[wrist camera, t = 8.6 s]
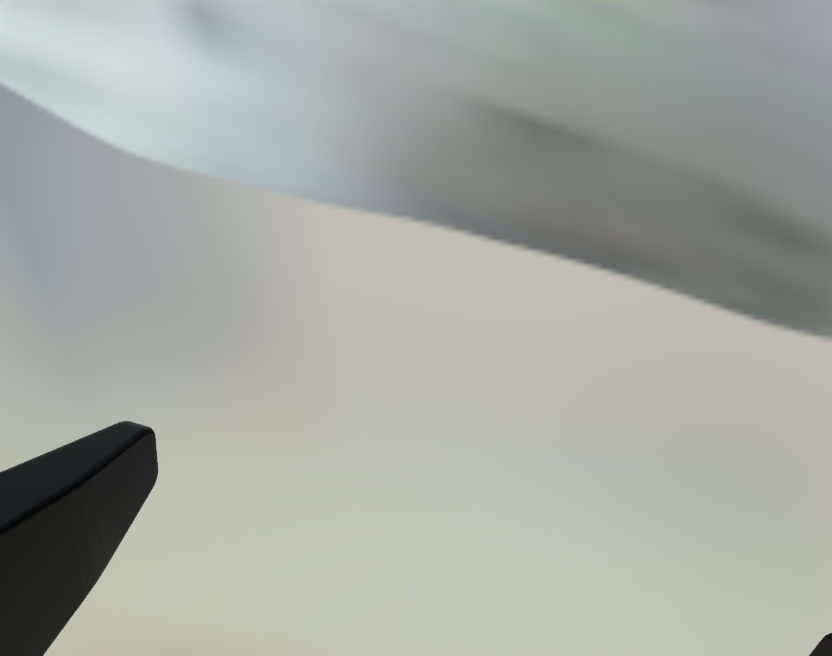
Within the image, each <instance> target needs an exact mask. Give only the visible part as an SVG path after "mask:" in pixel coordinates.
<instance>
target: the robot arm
mask: <svg viewBox="0 0 832 656" xmlns="http://www.w3.org/2000/svg"><path fill="white" fill-rule="evenodd" d="M157 475H158V462H157V451H156V438H155V433H154V431H153V430H152V429H151V428H150V427H147V426H143V425H140V424H137V423H134V422H130V421H123V422H119V423H117V424H114V425H112V426H110V427H107V428H105V429H102V430H100V431H98V432H95V433H93V434H91V435H88V436H86V437H83V438H81V439H78V440H76V441H74V442H72V443H69V444H67V445H64V446H62V447H60V448H57V449H55V450H52V451H50V452H48V453H45V454H43V455H40V456H38V457H36V458H33V459H31V460H29V461H26V462H24V463H21V464H19V465H17V466H14V467H12V468H10V469H7V470H5V471H3V472H0V656H43V655H44V653H45V652H46V651H47V649H48V648H49V647H50V645H51V644H52V643H53V641H54V640H55V639H56V637H57V636H58V634H59V633H60V632H61V630H62V629H63V628H64V626H65V625H66V624H67V622H68V621H69V619H70V618H71V617H72V616H73V614H74V613H75V611H76V610H77V609H78V607H79V606H80V605H81V603H82V602H83V601H84V599H85V598H86V596H87V595H88V594H89V592H90V591H91V589H92V588H93V587H94V585H95V584H96V582H97V581H98V579H99V578H100V576H101V574H102V573H103V571H104V570H105V568H106V566H107V565H108V563H109V561H110V560H111V558H112V556H113V555H114V553H115V551H116V549H117V548H118V546H119V544H120V543H121V541H122V539H123V538H124V535H125V534H126V532H127V531H128V529H129V527H130V526H131V524H132V522H133V521H134V519H135V517H136V516H137V514H138V512H139V510H140V509H141V507H142V505H143V504H144V502H145V500H146V499H147V497H148V495H149V494H150V492H151V490H152V489H153V486H154V485H155V482H156V479H157ZM809 656H832V633H830V634H828V635H826V636H825V637H824V638H823V639H822V640H821V641H820V642H819V644H818V645H817V646H816V648H815V649H814V650H813V651H812V653H811V654H810V655H809Z"/></svg>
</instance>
